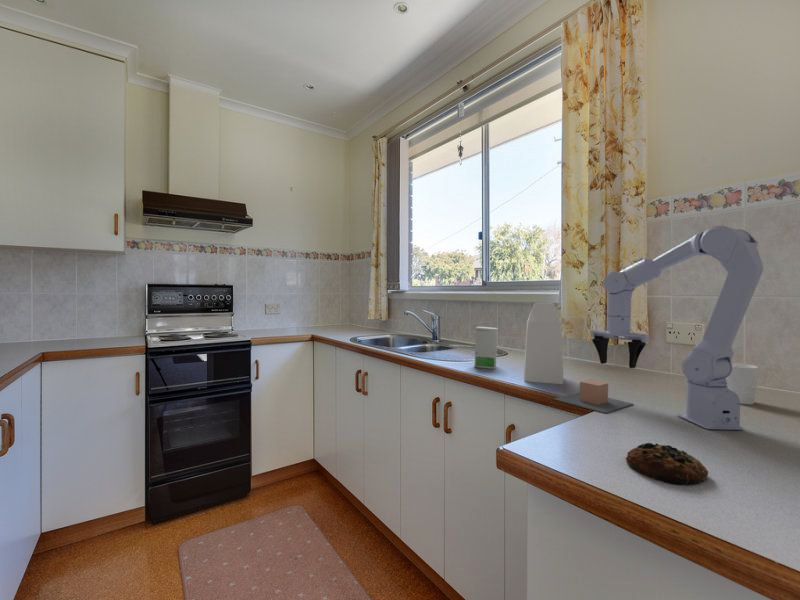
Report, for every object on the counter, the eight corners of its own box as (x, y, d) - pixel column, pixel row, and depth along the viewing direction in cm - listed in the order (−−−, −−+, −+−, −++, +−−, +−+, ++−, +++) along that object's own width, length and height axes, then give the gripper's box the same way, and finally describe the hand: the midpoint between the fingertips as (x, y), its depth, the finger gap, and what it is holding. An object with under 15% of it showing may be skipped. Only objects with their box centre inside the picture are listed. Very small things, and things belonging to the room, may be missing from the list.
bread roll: (643, 482, 58) (643, 449, 59) (615, 461, 69) (615, 433, 70) (725, 493, 56) (724, 458, 57) (682, 469, 67) (682, 440, 68)
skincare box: (474, 367, 148) (474, 327, 147) (475, 364, 154) (476, 326, 154) (496, 369, 145) (497, 328, 145) (497, 366, 151) (497, 327, 151)
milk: (524, 381, 126) (525, 302, 125) (523, 374, 137) (525, 302, 136) (563, 384, 122) (565, 303, 122) (559, 376, 133) (561, 302, 133)
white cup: (746, 398, 108) (747, 363, 107) (764, 406, 100) (765, 368, 100) (713, 396, 110) (714, 361, 110) (728, 403, 102) (729, 366, 102)
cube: (607, 401, 101) (608, 383, 101) (598, 404, 98) (598, 385, 98) (589, 397, 105) (589, 379, 105) (579, 400, 103) (579, 381, 102)
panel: (633, 404, 100) (633, 403, 100) (605, 413, 92) (605, 412, 92) (582, 392, 112) (582, 391, 111) (554, 399, 104) (554, 398, 104)
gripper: (654, 317, 101) (653, 368, 101) (599, 314, 113) (598, 360, 113) (642, 318, 97) (641, 371, 97) (587, 315, 109) (586, 362, 109)
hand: (617, 365), depth 105 cm, fingers open, 7 cm apart
